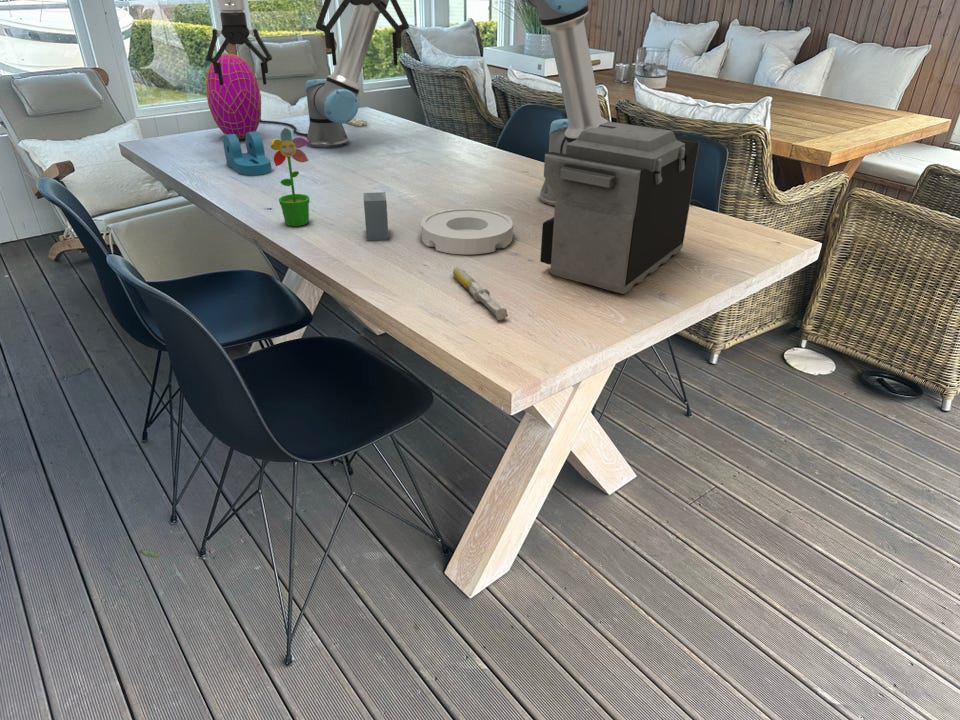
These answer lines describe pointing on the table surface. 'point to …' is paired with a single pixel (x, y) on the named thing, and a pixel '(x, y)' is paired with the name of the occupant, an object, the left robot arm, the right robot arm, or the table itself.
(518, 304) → the table surface
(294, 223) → the potted flower
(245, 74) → the decorative egg
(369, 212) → the block
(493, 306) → the syringe
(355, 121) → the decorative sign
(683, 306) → the table surface
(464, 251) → the ashtray
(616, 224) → the electronic device
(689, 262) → the table surface
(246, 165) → the camera mount
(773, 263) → the table surface
